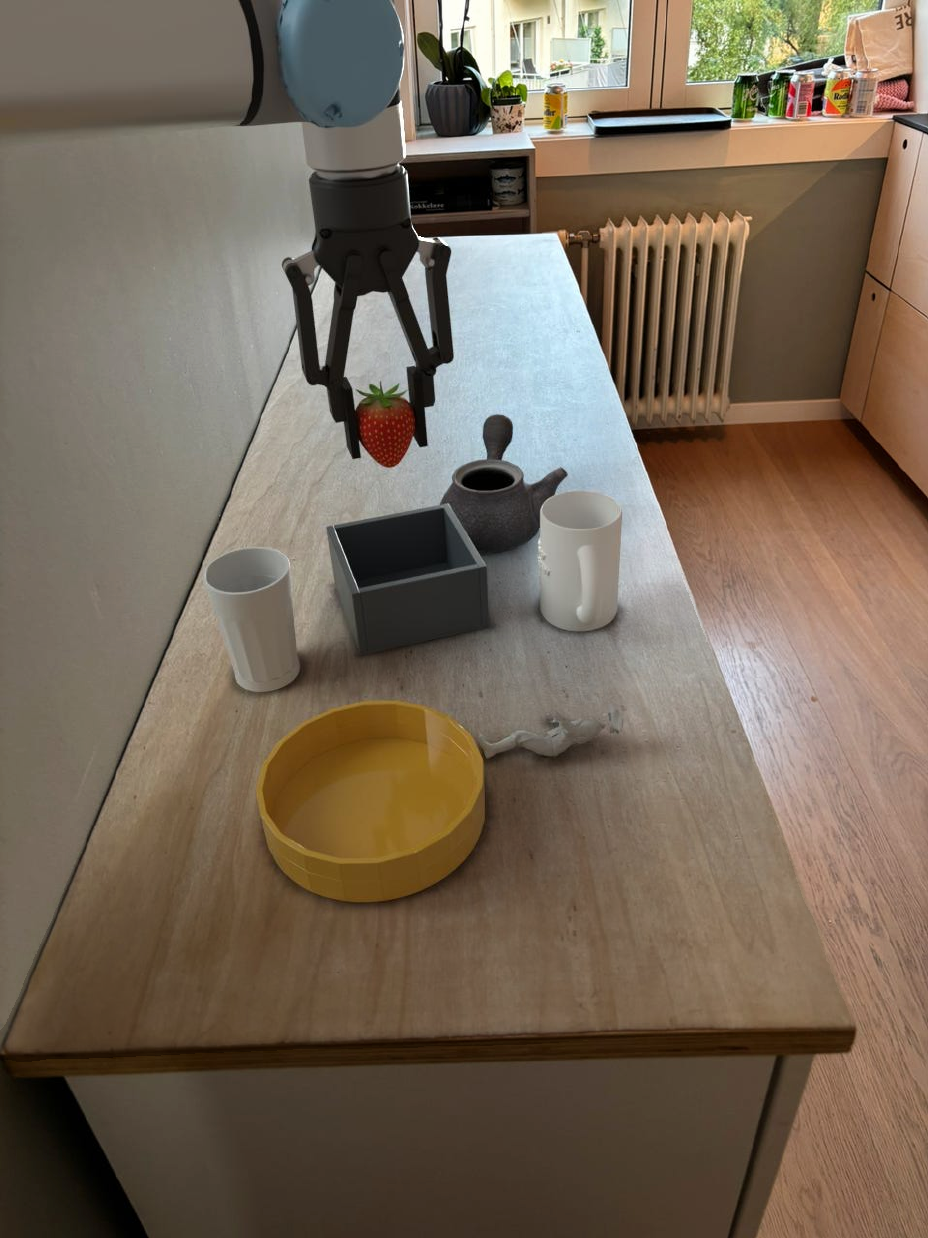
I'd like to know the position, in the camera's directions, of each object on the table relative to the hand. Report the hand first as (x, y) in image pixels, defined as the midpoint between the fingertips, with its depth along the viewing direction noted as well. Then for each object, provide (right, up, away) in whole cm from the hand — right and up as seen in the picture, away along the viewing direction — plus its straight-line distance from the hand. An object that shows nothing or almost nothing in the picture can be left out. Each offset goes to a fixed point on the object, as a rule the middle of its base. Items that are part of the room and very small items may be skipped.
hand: (387, 445), depth 88 cm
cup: (-12, -21, +9) cm, 26 cm away
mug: (+19, -16, +13) cm, 28 cm away
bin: (+1, -14, +17) cm, 22 cm away
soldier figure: (+14, -27, -2) cm, 31 cm away
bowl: (0, -32, -7) cm, 32 cm away
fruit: (0, -2, +1) cm, 2 cm away
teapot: (+11, -3, +31) cm, 33 cm away
